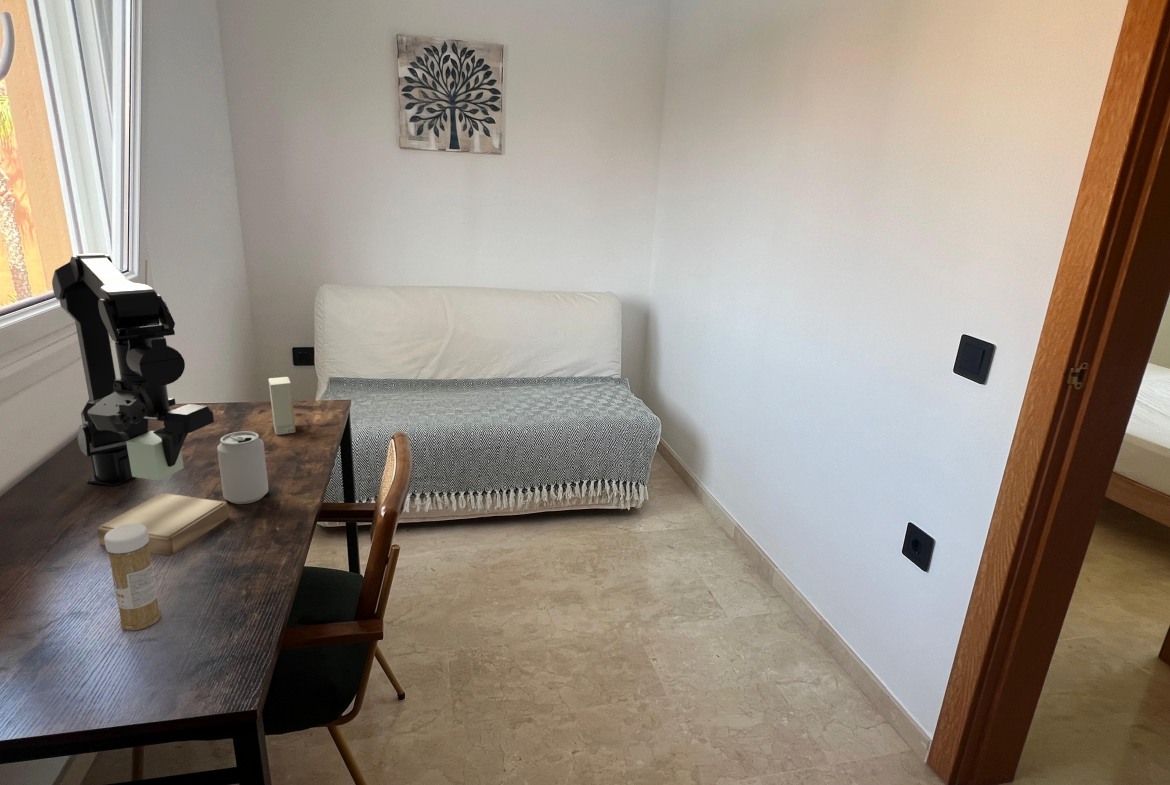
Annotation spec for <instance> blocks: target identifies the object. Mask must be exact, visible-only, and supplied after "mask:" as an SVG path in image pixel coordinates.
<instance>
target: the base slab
mask: <svg viewBox="0 0 1170 785" xmlns="http://www.w3.org/2000/svg"><path fill="white" fill-rule="evenodd" d="M228 509H229V508H228V501H222V500H215V499H208V498H202V497H195V496H194V497H193V496H188V495H181V494H173V493H166V492H162V493H158V494H157V495H154V496H152V497H151V498H149V499H147V500H145V501H143V502H142V503H140V504H137V505H136V506H135V507H132V508H130V509H128V510H126V511H125V512H123V513H121V514H119V515H118V516H116V517H114V518H112V519H110V520H108V521H107V522H104V523H103V524H100V525H99V526H98V527H97V528H96V531H97V537H98V542H99V545H102V546H105V541H104V537H105V535H106V533H107V532H109V531H110V530H112V529H114V528H116V527H119V526H122V525H127V524H141V525H144V526H146V528H147V531H148V536H149V544H148V545H149V552H150V554H157V555H162V556H163V555H164V556H167V557H168V556H169V557H170V556H171V555H173V554H174V555H175V554H177V553H178V552H180V551H181V550H183V549H184V548H185V547H188V545H190V544H191V543H193V542H194V541H196V540H198V539H199V538H200V537H202V536H203V535H205V534H207V533H208V532H210V531H211V530H213V529H214V528H216V527H218V525H221V524H222V523H223V522H225V521H226V520H228V518H229V516H230V515H229V510H228Z"/></svg>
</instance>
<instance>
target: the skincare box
mask: <svg viewBox="0 0 1170 785" xmlns="http://www.w3.org/2000/svg"><path fill="white" fill-rule="evenodd" d="M291 384H292V383H291V380H290V378H289V377H288V376H280V377H279V376H278V377H270V378H268V389H269V396H270V404H271V411H272V412H271V414H272V420H273V422H272V423H273V428H274V433H275V435H276V436H280V435H289V434H294V433H296V423H295V414H294V404H293V397H292V394H293V393H292V385H291Z"/></svg>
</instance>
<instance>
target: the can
mask: <svg viewBox="0 0 1170 785" xmlns="http://www.w3.org/2000/svg"><path fill="white" fill-rule="evenodd" d="M259 437H260V435H259V434H258V433H257V432H254V431H249V430H248V431H245V430H244V431H243V430H242V431H237V432H236V431H234V432H232V433H228V434H225V435H224V436H221V438H220V439H219V441H220V443H219V444H218V446H217V447H216V452H217V459H218V466H219V474H220V480H221V490H222V495H223V499H225V500H226V501H227V502H230V503H231V504H236V505H244V504H246V505H247V504H251V503H255V502H257V501H259V500H261V499H262V498H264V496H266V494H268V493H269V482H268V472H267V471H268V470H267V464H266V462H267V461H266V454H265V452H266V451H265V444H264V440H262V439H260V438H259Z"/></svg>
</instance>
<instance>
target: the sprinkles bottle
mask: <svg viewBox="0 0 1170 785" xmlns="http://www.w3.org/2000/svg"><path fill="white" fill-rule="evenodd" d="M104 541H105V545H104V546H105V550H106V551H107V553H108V556H109V562H110V567H111V572H112V574H111V575H112V576H111V577H112V580H113V586H114V592H115V598H116V603H117V606H118V612H119V618H120V621H119V622H120V623H119V624H120V627H121V628H122V629H123V630H127V631H139V630H142V629H145V628H148V627H151V626H153V625H154V624H155V623H156V622H158V621H159V620H160V617H161V616H162V613H161V611H160V609H159V607H160V606H159V603H158V597H157V596H158V593H157V592H158V591H157V585H156V578H155V573H154V567H153V566H154V565H153V561H152V557H151V553H150V552H149V545H148V544H149V536H148V531H147V528H146V526H144V525H141V524H127V525H122V526H119V527H116V528H114V529H112V530H110V531H109V532H107V533H106V535H105V537H104Z"/></svg>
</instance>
